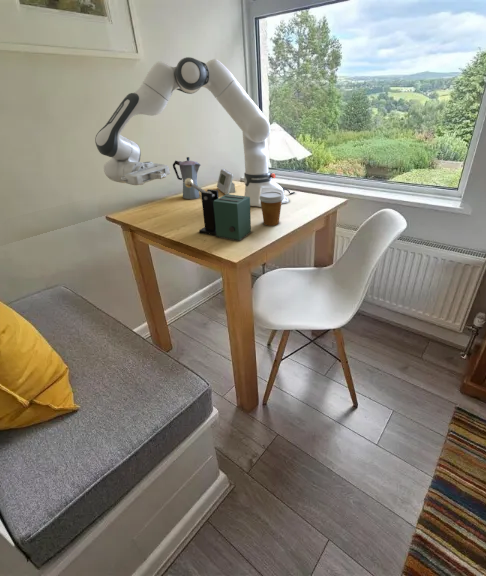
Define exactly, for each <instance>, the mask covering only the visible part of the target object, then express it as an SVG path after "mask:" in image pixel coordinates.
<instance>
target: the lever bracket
mask: <svg viewBox="0 0 486 576" xmlns="http://www.w3.org/2000/svg"><path fill="white" fill-rule="evenodd" d="M208 191H211V192H212V193H214V194H215V197H214V200H216V199H218V198H220V197H219V189H210V188H208V189H207V190H206V192H200V197H201V205H202V214H203V215H202V216H203V221H204V222H203V223H204V227H202V228H200V229H199V234H203V235H208V236H214V237H217V235H216V225H215V214H214V204H213V201H214V200H213V196H212V193H208Z"/></svg>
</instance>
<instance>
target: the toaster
mask: <svg viewBox="0 0 486 576" xmlns="http://www.w3.org/2000/svg"><path fill="white" fill-rule="evenodd" d="M213 204H214V214H215V225H216V235H217V236H216V238H220V239H225V240H230V241H236V242H240V241H242V240H243V239H244V238H246V237H247V236H248V235H250V234H251V233H252V226H251V225H252V222H251V206H250V197H246V196H245V195H238V194H236V195H235V194H231V193H229V194H224V195H222V196H220V197H219V198H218V199H216V200H214V201H213Z"/></svg>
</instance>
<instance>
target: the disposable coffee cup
mask: <svg viewBox="0 0 486 576" xmlns="http://www.w3.org/2000/svg"><path fill="white" fill-rule="evenodd" d="M259 199H260V201H261V207H260V208H261V215H262V219H263V220H262V221H263V225H264V226H268V227H269V226H270V227H274V226H277V225H279V223H280V217H281V210H282V204H283V203H282V199H283V196H282V194H281V193H279V192H264V193H261V195H260V197H259ZM281 203H282V204H281Z"/></svg>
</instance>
